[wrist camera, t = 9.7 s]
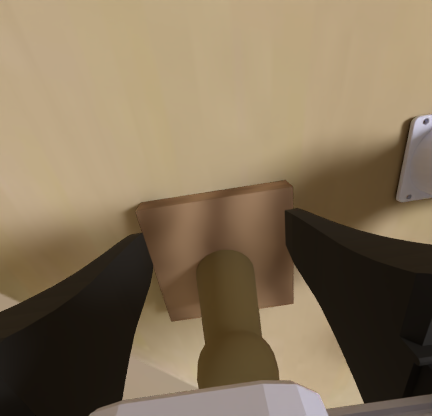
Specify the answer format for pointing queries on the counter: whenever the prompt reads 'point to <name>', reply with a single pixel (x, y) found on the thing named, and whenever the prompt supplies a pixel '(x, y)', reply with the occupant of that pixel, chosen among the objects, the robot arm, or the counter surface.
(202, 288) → the olive bottle
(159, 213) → the walnut stand
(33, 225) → the counter surface
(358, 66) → the counter surface
